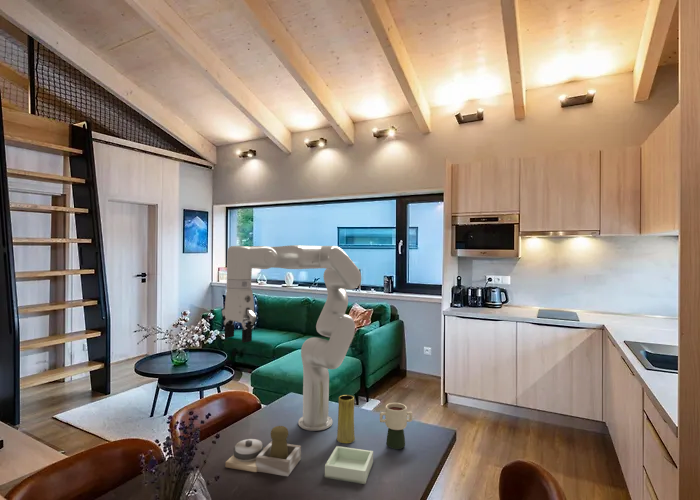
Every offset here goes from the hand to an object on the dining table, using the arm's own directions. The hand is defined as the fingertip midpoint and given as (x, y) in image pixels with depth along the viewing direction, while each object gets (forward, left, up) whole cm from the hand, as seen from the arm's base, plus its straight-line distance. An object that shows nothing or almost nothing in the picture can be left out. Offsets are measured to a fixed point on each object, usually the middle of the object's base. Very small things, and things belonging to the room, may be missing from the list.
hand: (237, 339), depth 124 cm
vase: (-19, +31, -36) cm, 51 cm away
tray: (-1, +37, -36) cm, 51 cm away
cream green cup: (-19, +48, -36) cm, 63 cm away
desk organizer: (+2, +11, -36) cm, 37 cm away
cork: (+2, +16, -36) cm, 39 cm away
